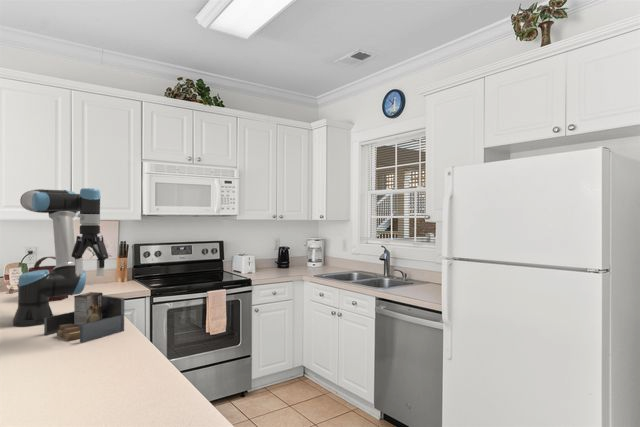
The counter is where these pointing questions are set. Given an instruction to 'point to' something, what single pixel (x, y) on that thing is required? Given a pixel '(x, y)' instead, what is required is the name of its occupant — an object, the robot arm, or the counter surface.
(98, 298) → the coffee box
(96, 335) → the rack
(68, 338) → the offcut stack
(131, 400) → the counter surface
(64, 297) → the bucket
